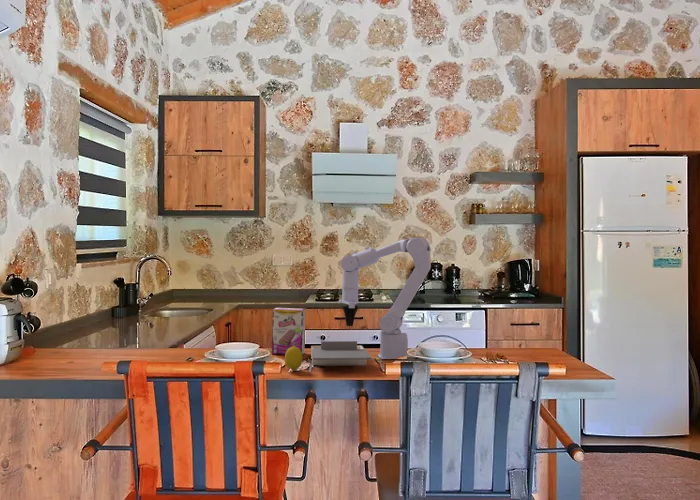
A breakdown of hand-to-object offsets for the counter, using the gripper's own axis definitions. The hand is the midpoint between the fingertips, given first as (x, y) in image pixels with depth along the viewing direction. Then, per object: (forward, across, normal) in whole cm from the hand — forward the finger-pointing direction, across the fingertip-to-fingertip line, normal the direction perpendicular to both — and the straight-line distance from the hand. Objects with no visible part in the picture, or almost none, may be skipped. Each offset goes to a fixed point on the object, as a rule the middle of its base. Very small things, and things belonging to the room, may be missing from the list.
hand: (349, 325), depth 204 cm
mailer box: (+10, +11, -5) cm, 16 cm away
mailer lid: (+6, +22, -5) cm, 23 cm away
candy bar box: (+11, -2, -22) cm, 24 cm away
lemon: (+11, +25, -20) cm, 34 cm away
